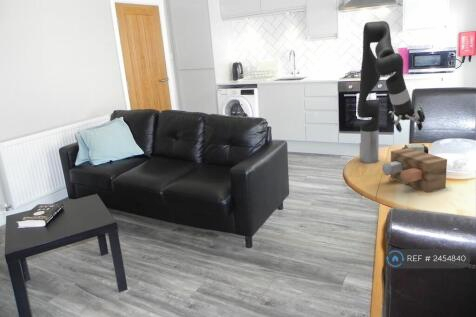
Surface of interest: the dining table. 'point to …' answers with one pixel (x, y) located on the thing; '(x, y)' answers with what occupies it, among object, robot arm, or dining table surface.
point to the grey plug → (392, 167)
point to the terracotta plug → (411, 175)
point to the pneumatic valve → (417, 147)
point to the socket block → (428, 163)
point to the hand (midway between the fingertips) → (410, 130)
